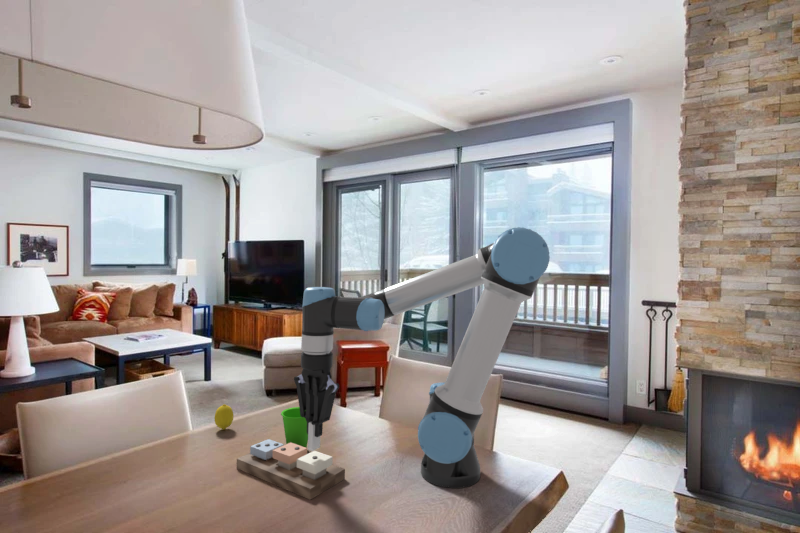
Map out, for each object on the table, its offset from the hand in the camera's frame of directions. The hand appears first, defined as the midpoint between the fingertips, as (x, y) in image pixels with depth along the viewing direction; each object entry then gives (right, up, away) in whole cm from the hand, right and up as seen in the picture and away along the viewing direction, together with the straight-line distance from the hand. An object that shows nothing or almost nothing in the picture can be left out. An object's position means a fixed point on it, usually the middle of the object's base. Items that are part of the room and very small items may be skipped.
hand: (313, 448), depth 110 cm
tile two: (-7, -6, +5) cm, 11 cm away
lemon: (-34, -7, +32) cm, 48 cm away
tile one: (0, -7, 0) cm, 7 cm away
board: (-7, -8, +5) cm, 12 cm away
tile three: (-14, -7, +9) cm, 18 cm away
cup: (-8, -8, +18) cm, 22 cm away
